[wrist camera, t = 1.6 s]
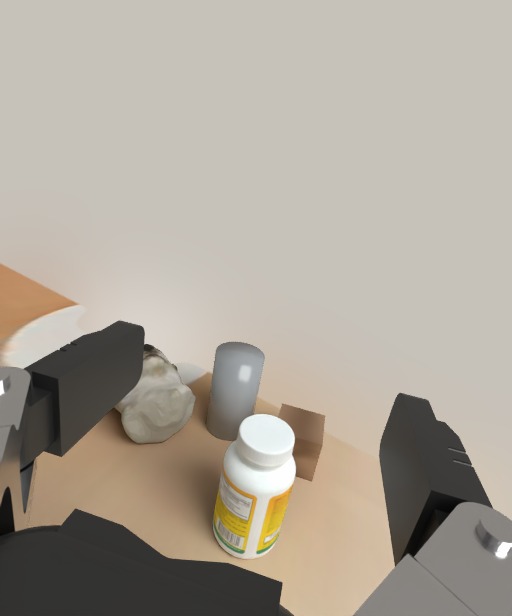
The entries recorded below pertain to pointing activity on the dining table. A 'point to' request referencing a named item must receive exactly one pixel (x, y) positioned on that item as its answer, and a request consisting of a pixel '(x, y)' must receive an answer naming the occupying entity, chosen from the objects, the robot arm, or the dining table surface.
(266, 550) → the supplement bottle
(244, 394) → the light grey cylinder
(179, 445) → the dining table surface
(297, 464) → the walnut block
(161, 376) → the ceramic sculpture
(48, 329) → the dining table surface
